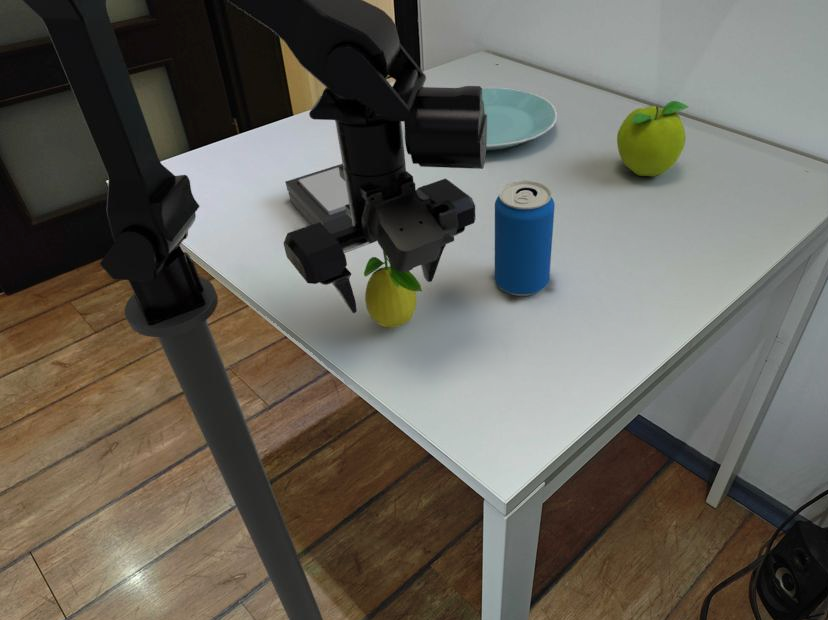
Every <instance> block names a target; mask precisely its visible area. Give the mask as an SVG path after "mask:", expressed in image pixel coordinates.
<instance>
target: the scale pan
mask: <svg viewBox="0 0 828 620" xmlns="http://www.w3.org/2000/svg"><path fill="white" fill-rule="evenodd" d="M298 181H299V185H300V187H301V188H302V189H303V190H304V191H305V192H306V193H307V194H308V195H309V196H310V197H311V198H312V199H313V200H314V201H315V203H316V204H317V205H318V206H319V207H320V208H321V209H322V210H323V211H324V212H325V213H326V214H327V215H328V216H329V215H332V214H335V213H338V212H341V211H344V210H346V207H345V205H347V204H349V200H348V194H347V188H346V182H345V181H344V180H343V179H342V178H341V177H340V173H339V167H338V168H335V169H331V170H328V171H325V172H322V173H319V174H316V175H312V176H309V177H306V178H303V179H300V180H298Z"/></svg>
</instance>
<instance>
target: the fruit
mask: <svg viewBox="0 0 828 620" xmlns="http://www.w3.org/2000/svg"><path fill="white" fill-rule="evenodd" d="M688 108H689V105H686V104H684V103H683V102H680V101H677V100H672V101H669V102H667V103H666V104H665V105H664V107H659V105H658V104H656V105H651V106H646V107H640V108H636V109H634V110H632V111H631V112H629V114H628V115H627V116H626V117H625V118H624V120H623V122H622V123H621V125H620V126H619V129H618V131H617V137H616V143H617V150H618V154H619V156H620V159H621V160H622V162H623V164H624V165H625V166H626V167H627V168H628V169H629V170H630V171H631V172H633V174H635V175H637V176H638V177H639V176H640V177H656V176H660V175H661V174H664V173H666V172H667V171H668V170H669V169H671V168H672V167H673V166H674V165H675V164H676V162H677V161H678V160H679V158H680V156H681V155H682V152H683V150H684V148H685V145H686V130H685V127H684V124H683V122H682V119H681V117H680V115H679V114H678V112H679V111H682V110H685V109H688Z"/></svg>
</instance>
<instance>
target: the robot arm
mask: <svg viewBox="0 0 828 620" xmlns="http://www.w3.org/2000/svg"><path fill="white" fill-rule="evenodd" d="M22 1H23V2H24V3H25V4H26V5H27V6H28V7H29V8H30V9H31V10H32V11H33V12H34V13H36V15H37V16H38V17H40V19H41V20H42V22H43V24H44V26H45V28H46V31H47V34H49V38H50V40H51V43H52V45H53V48H54V49H55V52H56V54H57V56H58V59H59V61H60V64H61V66H62V69H63V71H64V74H65V76H66V78H67V81H68V83H69V85H70V86H69V87H70V88H71V90H72V91H71V92H72V93H73V95H74V98H75V101H76V102H77V105H78V108H79V110H80V112H81V114H82V117H83V119H84V122H85V124H86V126H87V129H88V131H89V134H90V137H91V138H92V141H93V143H94V146H95V148H96V150H97V153H98V156H99V157H100V160H101V162H102V166H103V168H104V170H105V172H106V175H107V179H108V180H107V181H108V182H107V183H108V185H107V197H106V215H107V219H108V220H107V221H108V223H109V228H110V232H111V236H112V239H113V241H114V242H113V245H112V246H111V247H110V248H109V250H108V251H107V253H106V254H105V255H104V256H103V258H102V259H101V261H100V262H99V264H100V266H101V268H103V270H104V271H105V272H106V273H107V274H108V275H109V276H110V278H111V279H113V280H120V281H121V280H122V281H128V283H129V285H130V287H131V289H132V291H133V294H134V293H135V294H134V296H135V298H136V301H137V303H138V305H139V307H140V309H141V311H142V313H143V316H144V318H145V320H146V322H147V324H148V325H154V324H157V323H159V322H162V321H165V320H167V319H170V318H173V317H176V316H178V315H181V314H184V313H186V312H189V311H192V310H194V309H197V308H200V307H202V306H204V305H205V304H206V302H205V300H204V298H203V296H202V295H201V292H203V290H204V289H203V286H202V283H201V281H200V278H199V276H200V274H199V273H198V271H197V268H196V265H195V262H194V260H193V259H192V258H191V256H190V254H189V252H187V251H184V250H183V249H182V248H181V246H180V245H181V244H182V243H183V242H184V240H186V239H187V238H188V237H189V230H190V228H191V227H192V226H193V225H194V223H195V221H196V217H197V215H196V212H197V211H198V210H199V209H200V206H201V205H199V203H198V201H197V200H196V198H195V196H194V195H193V192H192V187H191V180H190V178H189V176H188V175H186V174H180V175H179V174H178V175H175V174H174V173H173V172H171V171H170V170H169V169H168V168H167V167H166V166H164V165H163V164H162V162H161V161H160V159H159V156H158V153H157V149H156V147H155V144H154V142H153V139H152V136H151V133H150V130H149V128H148V125H147V121H146V118H145V115H144V113H143V110H142V107H141V105H140V102H139V101H140V100H139V99H138V96H137V92H136V90H135V87H134V84H133V81H132V78H131V76H130V72H129V69H128V67H127V64H126V62H125V58H124V56H123V53H122V50H121V47H120V44H119V42H118V39H117V36H116V33H115V30H114V28H113V25H112V22H111V19H110V16H109V13H108V9H107V0H22ZM225 1H226V2H228V3H229V4H231V5H232V6H234V7H236V8H237V9H238V10H240V11H242V12H243V13H245V14H246V15H247V16H249V17H251V18H252V19H254V20H255V21H257V22H258V23H259V24H261V25H263V26H264V27H266V28H267V29H269V30H270V31H272V33H274V34H275V35H276V36H278V37H279V38H280V39H281V40H282V41H283V42H284V43H285V45H286V46H287V47H288V48H289V50H290V51H291V53H292V55H293V56H294V58H295V59H296V60H297V62H298V63H299V64H300V66H301V67H302V68H304V69H305V70H306V71H307V72H308V73H309V74H310V75H312V76H313V77H314V79H316V80H317V81H318V82H319V83H320V84H322V85H323V86H324V87H325V88H324V89H323V91H322V94H321V95H320V96H319V98H318V99H317V101H316V102H315V103H314V105H313V106H312V108H311V110H310V111H309V114H308V115H309V117H310V119H312V120H315V121H316V120H318V121H319V120H321V121H334V123H335V128H336V133H337V141H338V146H339V151H340V152H339V153H340V158H341V164H343V166H340V167H339V173H340V177H341V178H342V179H343V180H344V181H345V182H346V188H347V194H348V200H349V204H347V205H345V207H346V213H347V215H348V216H349V217H350V218H351V219H352V223H353V226H352V227H349V228H346V229H344V230H341V231H338V232H335V233H332V234H331V233H330V232H329V231H328V230H327V229H326V228H325V227H324V225H323V224H322V223H321V222H318V223H315V224H312V225H311V224H310V225H307V226H304V227H301V228H297V229H295V230H292V231H289V232H287V233H286V236H285V238H284V241H283V242H282V243H283V248H284V251H285V252H284V253H285V256H286V258H287V259H288V261H289V262H290V263H291V264H292V265H293V267H294V268H295V269H296V271H297V272H298V273H299V275H300V276H301V277H302V278H303V279H304V280H305V282H306V284H312V285H317V284H319V283H320V284H321V285H323V286H324V285H325V286H328V285H330V284H332V286H333V287H334V288H335V290H336V291H337V292H338V294H339V296H340V297H341V299H342V300H343V302H344V303H345V305H346V306H347V308H348V309H349V310H350V312H352V314H356V313H357V312H358V309H357V302H356V298H355V294H354V291H353V288H352V284H351V281H350V278H351V276H352V273H351V271H350V270H349V269H348V268H347V266H348V263H347V258H346V254H347V253H349V252H352V251H354V250H357V249H359V248H362V247H365V246H367V245H370V244H374V243H376V242H377V244H378V246H379V247H380V248H381V250H382V252H383V251H384V253H385V254H386V257H387V258H388V259H389V260H390V263H391V265H392V266H393V268H394V269H395V270H397V271H399V272H407V271H410V272H411V271H412V270H413V269H414V268H416V267H419V266H421V270H422V273H423V277H424V280H426V281H427V282H428V283H431V282H433V280H434V277H435V275H436V272H437V268H438V266H439V263H440V260H441V257H442V255H443V252H444V250H445V247H446V246H447V245H448V244H450V243H453V242H455V237H456V236H458V235H459V234H462V233H463V232H464V231H465V229H466V227H469V226H470V225H474V224H475V222H476V204H475V202H474V199H473V198H472V197H471V195H470V196H469V194H467V193H466V192H465V191H463V189H461V188H459V187H458V186H457V185H455V184H454V183H453V182H451V181H450V180H448V178H442V179H440V180H437V181H434V182H431V183H428V184H425V185H422V186H419V187H417V189H416V183H415V181H414V176H413V175H412V174H411V173H410V172H408V170H407V166H406V156H405V149H406V153H407V154H408V156H409V155H410V157H411V158H410V159H411V162H412V164H413V165H418V166H419V167H422V168H447V169H449V168H451V169H476V170H479V169H480V170H483V169H484V167H485V163H486V154H487V150H486V143H487V114H485V109H484V102H483V100H482V88H483V87H482V86H481V85H464V86H460V87H437V86H436V87H434V86H433V87H432V86H431V87H429V86H424V85H425V83H426V80H427V76H426V73H424V72H423V70H422V69H421V68H420V67H419V66H418V64H417V63H416V62H415V60H414V58H412V56H411V55H410V54H409V53H408V52H407V50H406V49H405V48H404V47H403V45H402V44H401V43H400V42H401V41H400V37H399V33H398V29H397V25H396V23H395V22H394V20H393V19H392V17H391V16H389V14H387V12H386V11H384V10H383V9H381V8H380V7H378V6H376V5H373V4H371V3H369V2H367V1H366V0H225ZM388 77H390V78H392V79H393V80H395V81H394V83H393V85H392V84H390V82H389V80H387V79H388ZM402 122H403V124H404V136H403V126H402V125H403V124H402ZM404 143H405V146H404ZM390 263H389V264H390Z"/></svg>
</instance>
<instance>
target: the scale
mask: <svg viewBox="0 0 828 620" xmlns="http://www.w3.org/2000/svg"><path fill="white" fill-rule="evenodd" d="M340 166H343V164H342V163H339V164H337V165H333V166H331V167H327V168H324V169H321V170H317V171H313V172H312V173H308V174H304V175H302V176H299V177H295V178H292V179H289V180H286V181H285V187H286V191H287V192H288V197H289V201H290V203H291V204H292V205H293V207H295V208H296V209H297V210H298V212H299V213H300V214H301V215H302V216H303V217H304V218H305V220H306V221H308V223H309V224H310V225H312V224H315V223H318V222H321V223H322V224H323V225H324V227H325V228H326V229H327V230H328V231H329V232H330V233H331V234H332V233H335V232H338V231H341V230H344V229H346V228H349V227H352V226H353V223H352V219H351V218H350V217H349V216H348V215H347V213H346V210H344V211H341V212H338V213H335V214H332V215H329V216H328V215H327V214H326V213H325V212H324V211H323V210H322V209H321V208H320V207H319V206H318V205H317V204H316V203H315V201H314V200H313V199H312V198H311V197H310V196H309V195H308V194H307V193H306V192H305V191H304V190H303V189H302V188H301V187H300V185H299V181H298V180H300V179H303V178H306V177H309V176H312V175H316V174H319V173H322V172H325V171H328V170H331V169H335V168H338V167H340Z"/></svg>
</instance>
